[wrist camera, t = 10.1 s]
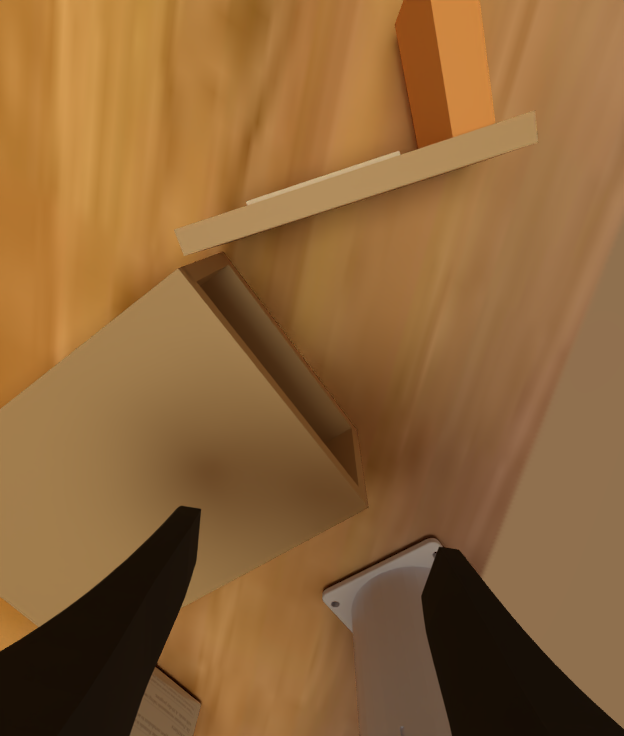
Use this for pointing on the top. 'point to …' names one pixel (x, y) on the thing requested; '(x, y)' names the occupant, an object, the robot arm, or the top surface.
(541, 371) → the top surface
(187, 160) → the top surface
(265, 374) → the kraft carton
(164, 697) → the supplement box
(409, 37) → the carton flap
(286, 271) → the top surface
